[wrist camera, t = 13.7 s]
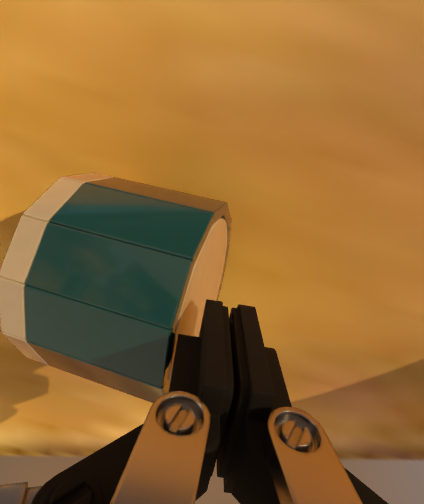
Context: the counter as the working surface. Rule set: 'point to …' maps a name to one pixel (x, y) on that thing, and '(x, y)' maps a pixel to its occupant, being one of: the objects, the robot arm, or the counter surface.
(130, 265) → the teal cup
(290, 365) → the counter surface
